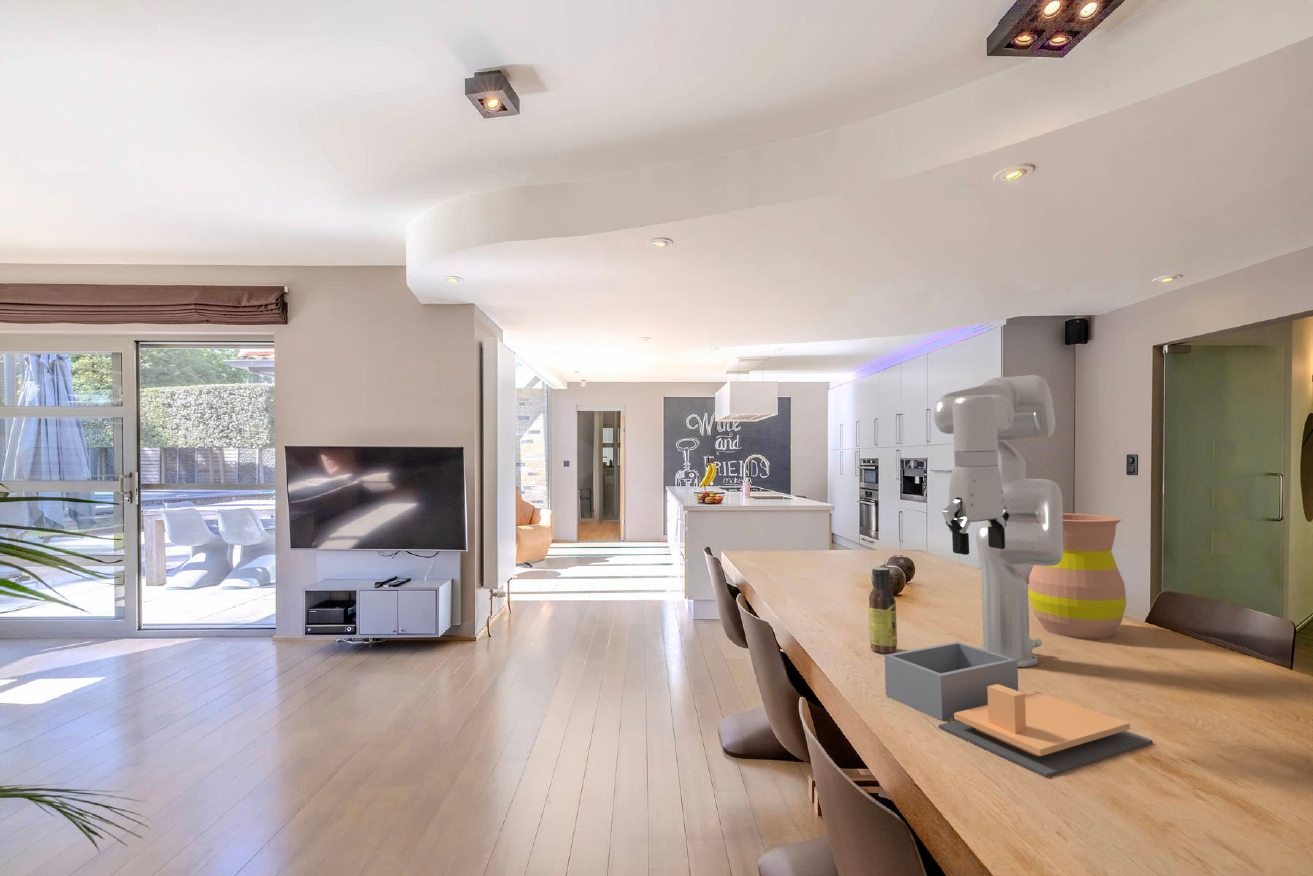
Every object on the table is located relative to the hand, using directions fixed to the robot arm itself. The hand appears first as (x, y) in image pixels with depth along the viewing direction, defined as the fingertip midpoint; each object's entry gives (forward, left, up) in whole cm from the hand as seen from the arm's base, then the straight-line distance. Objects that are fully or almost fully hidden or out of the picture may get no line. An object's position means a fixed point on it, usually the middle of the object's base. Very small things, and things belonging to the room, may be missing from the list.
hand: (979, 550), depth 127 cm
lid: (+2, +13, -29) cm, 32 cm away
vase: (-66, -26, -30) cm, 77 cm away
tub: (+2, -6, -29) cm, 30 cm away
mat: (+2, +13, -29) cm, 32 cm away
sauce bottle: (-9, -36, -30) cm, 47 cm away
